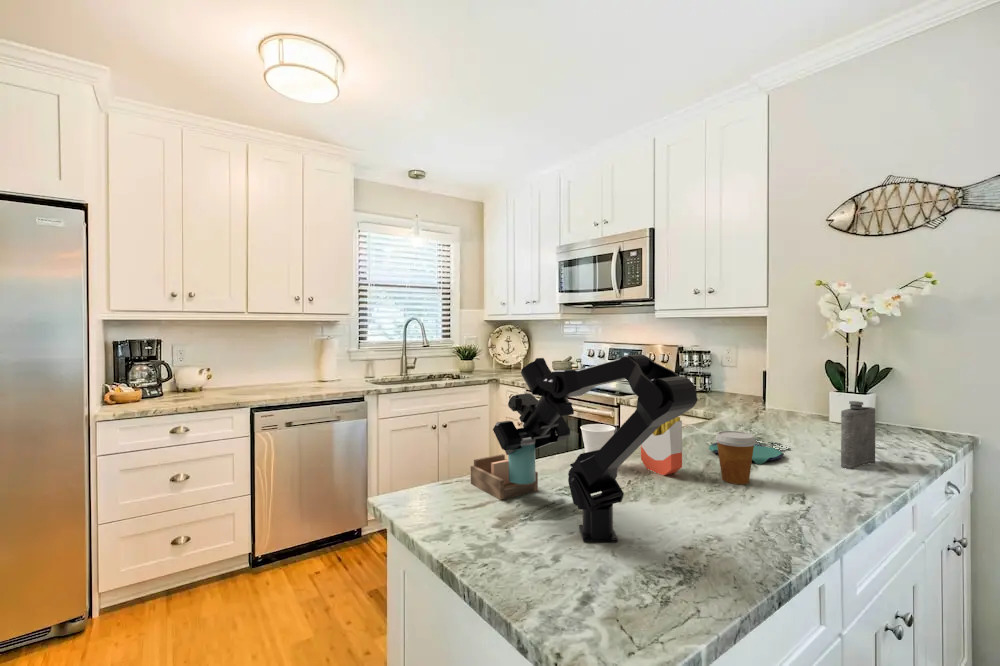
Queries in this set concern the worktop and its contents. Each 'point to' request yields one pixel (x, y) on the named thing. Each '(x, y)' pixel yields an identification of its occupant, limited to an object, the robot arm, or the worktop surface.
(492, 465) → the bar
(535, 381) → the robot arm
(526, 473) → the teal lidded canister
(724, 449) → the disposable coffee cup
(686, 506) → the worktop surface
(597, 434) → the cup
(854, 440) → the flask
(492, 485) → the small wooden crate
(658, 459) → the french fries container
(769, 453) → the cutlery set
